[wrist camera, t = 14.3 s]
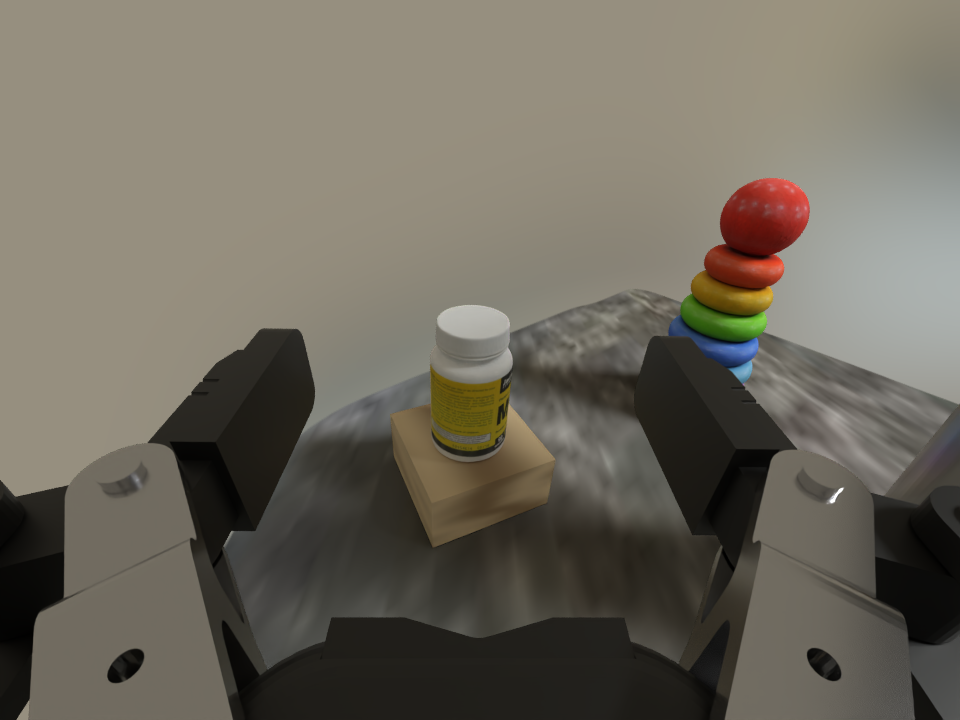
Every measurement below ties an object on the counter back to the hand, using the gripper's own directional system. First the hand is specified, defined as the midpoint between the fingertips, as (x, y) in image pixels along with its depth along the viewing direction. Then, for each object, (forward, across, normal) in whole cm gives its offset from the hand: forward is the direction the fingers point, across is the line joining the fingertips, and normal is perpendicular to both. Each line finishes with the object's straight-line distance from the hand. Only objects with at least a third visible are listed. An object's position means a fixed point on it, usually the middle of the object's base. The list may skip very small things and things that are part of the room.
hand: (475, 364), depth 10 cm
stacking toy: (+21, -19, +19) cm, 34 cm away
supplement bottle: (+12, 0, +14) cm, 18 cm away
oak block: (+12, 0, +18) cm, 21 cm away
